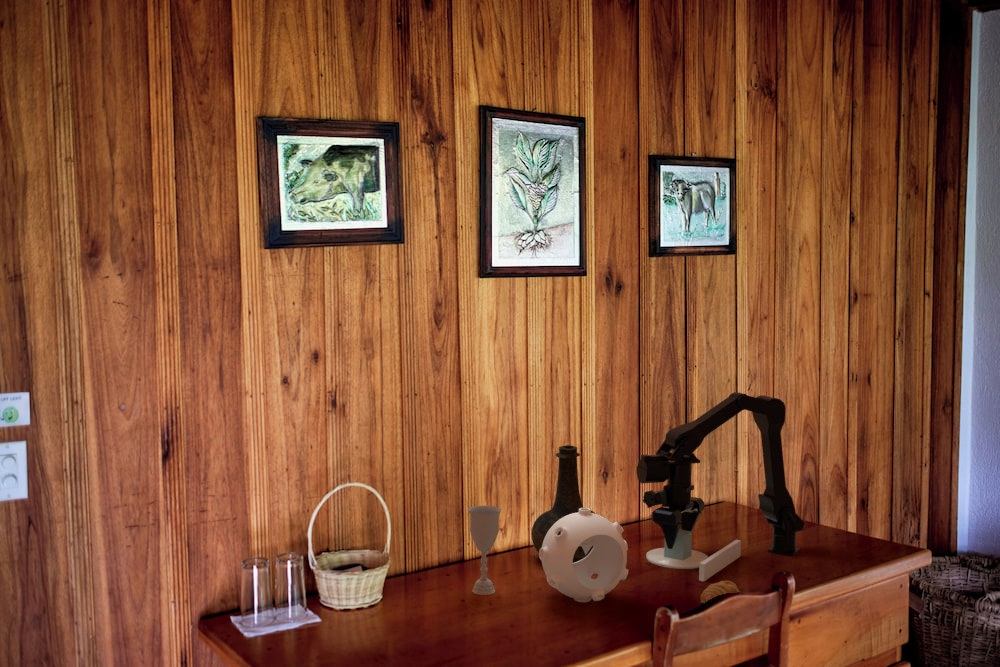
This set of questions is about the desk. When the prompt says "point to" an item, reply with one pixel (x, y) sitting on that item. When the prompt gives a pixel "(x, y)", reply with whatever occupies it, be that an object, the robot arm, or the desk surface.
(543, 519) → the glass bottle
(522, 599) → the desk surface
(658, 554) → the plate
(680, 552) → the block
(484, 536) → the chalice
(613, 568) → the decorative ball
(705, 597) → the pastry
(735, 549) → the panel
